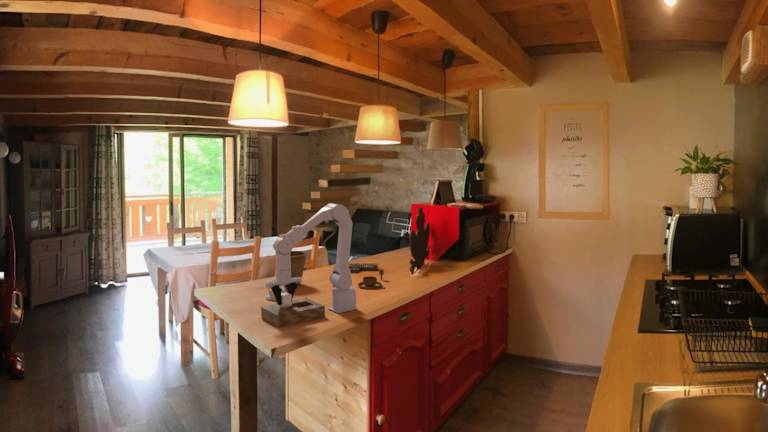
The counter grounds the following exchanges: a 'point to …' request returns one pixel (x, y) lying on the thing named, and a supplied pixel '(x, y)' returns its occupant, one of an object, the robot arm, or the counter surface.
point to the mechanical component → (271, 294)
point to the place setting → (371, 282)
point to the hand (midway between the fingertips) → (284, 303)
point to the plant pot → (297, 263)
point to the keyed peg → (286, 300)
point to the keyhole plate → (293, 312)
